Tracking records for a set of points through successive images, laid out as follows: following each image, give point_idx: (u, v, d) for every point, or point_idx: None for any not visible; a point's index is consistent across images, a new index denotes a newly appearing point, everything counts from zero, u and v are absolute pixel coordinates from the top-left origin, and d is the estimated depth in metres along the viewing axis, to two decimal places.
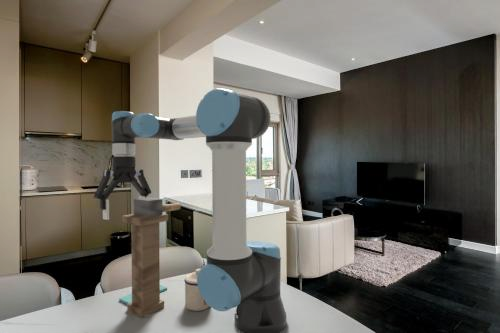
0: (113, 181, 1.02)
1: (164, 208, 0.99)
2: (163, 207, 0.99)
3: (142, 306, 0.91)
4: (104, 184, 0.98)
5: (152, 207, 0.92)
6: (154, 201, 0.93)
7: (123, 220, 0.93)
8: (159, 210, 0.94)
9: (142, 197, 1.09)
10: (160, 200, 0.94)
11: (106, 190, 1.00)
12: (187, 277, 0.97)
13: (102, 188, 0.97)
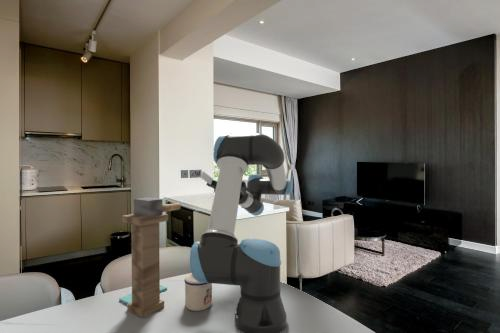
0: None
1: (164, 208, 0.99)
2: (163, 207, 0.99)
3: (142, 306, 0.91)
4: None
5: (152, 207, 0.92)
6: (154, 201, 0.93)
7: (123, 220, 0.93)
8: (159, 210, 0.94)
9: None
10: (160, 200, 0.94)
11: None
12: (187, 277, 0.97)
13: None
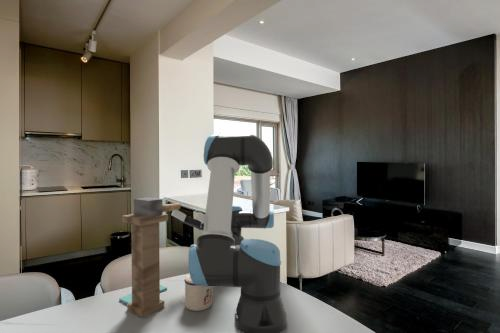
0: None
1: (164, 208, 0.99)
2: (163, 207, 0.99)
3: (142, 306, 0.91)
4: None
5: (152, 207, 0.92)
6: (154, 201, 0.93)
7: (123, 220, 0.93)
8: (159, 210, 0.94)
9: None
10: (160, 200, 0.94)
11: None
12: (187, 277, 0.97)
13: None
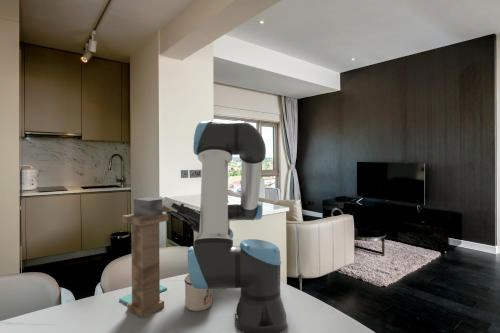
0: None
1: (164, 208, 0.99)
2: (163, 207, 0.99)
3: (142, 306, 0.91)
4: None
5: (152, 207, 0.92)
6: (154, 201, 0.93)
7: (123, 220, 0.93)
8: (159, 210, 0.94)
9: None
10: (160, 200, 0.94)
11: None
12: (187, 277, 0.97)
13: None
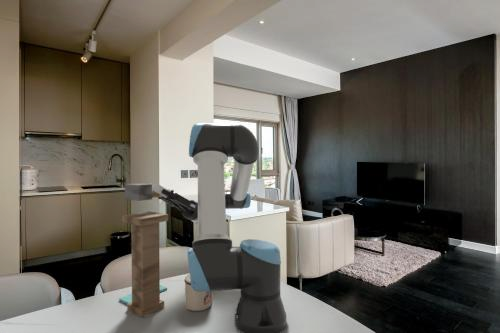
0: None
1: (154, 193, 1.03)
2: (153, 192, 1.03)
3: (142, 306, 0.91)
4: None
5: (141, 191, 0.96)
6: (144, 186, 0.97)
7: (123, 220, 0.93)
8: (149, 195, 0.98)
9: None
10: (150, 185, 0.99)
11: None
12: (187, 277, 0.97)
13: None
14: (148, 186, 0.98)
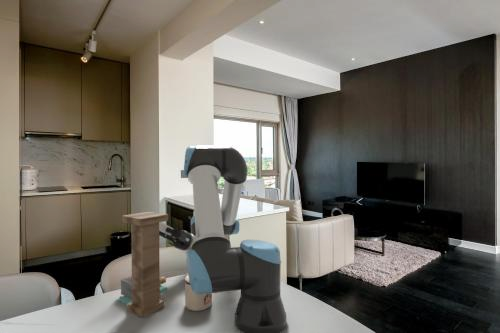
0: None
1: None
2: None
3: (142, 306, 0.91)
4: None
5: None
6: None
7: (123, 220, 0.93)
8: None
9: None
10: None
11: None
12: (187, 277, 0.97)
13: None
14: None
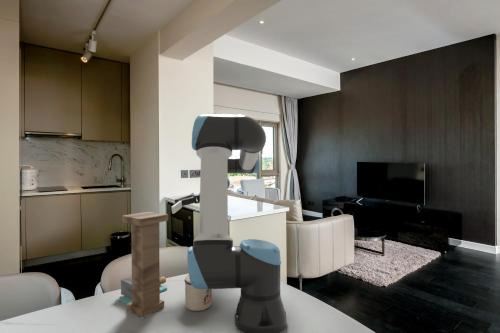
0: None
1: None
2: None
3: (142, 306, 0.91)
4: (184, 196, 1.23)
5: None
6: None
7: (123, 220, 0.93)
8: None
9: None
10: None
11: None
12: (187, 277, 0.97)
13: (181, 197, 1.22)
14: None
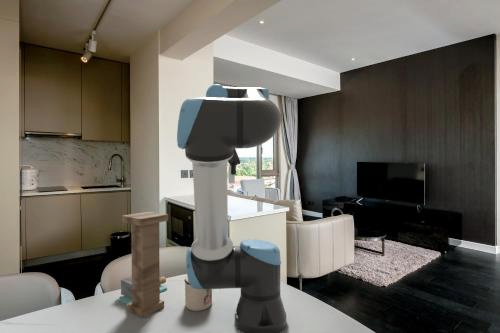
0: None
1: None
2: None
3: (142, 306, 0.91)
4: None
5: None
6: None
7: (123, 220, 0.93)
8: None
9: (229, 167, 1.12)
10: None
11: None
12: (187, 277, 0.97)
13: None
14: None
